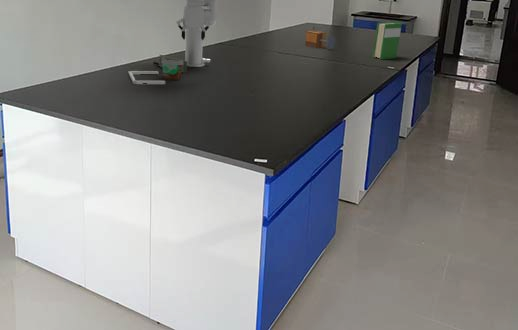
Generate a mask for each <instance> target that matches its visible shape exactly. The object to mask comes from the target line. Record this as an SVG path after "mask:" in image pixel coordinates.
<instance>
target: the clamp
mask: <svg viewBox="0 0 518 330" xmlns="http://www.w3.org/2000/svg"><path fill="white" fill-rule="evenodd" d="M312 28H313V29H312V30H306V31H305V32H306V33H305V42H304V46H305V47H308V48H314V49H320V48H325V46H326V45H325V44H326V43H327V48H328V49H329V50H331V49H333V48H334V46H335V43H336V39H335V37H334V36H330V37H329V38H328V40H327V39H326V36H327V35H326V34H327V33H326V32H324V31H320V30H315V26H312Z"/></svg>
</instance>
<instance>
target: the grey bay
mask: <svg viewBox="0 0 518 330" xmlns="http://www.w3.org/2000/svg"><path fill="white" fill-rule="evenodd" d="M140 74H158V75H159V71H157V70H143V71H142V70H128V76H129V78H130V79H131V81H132V84H133V85H144V84H143V83H147V84H146V85H166V80H136V79H135V76H134V75H140Z"/></svg>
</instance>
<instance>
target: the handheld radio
mask: <svg viewBox="0 0 518 330" xmlns="http://www.w3.org/2000/svg"><path fill="white" fill-rule="evenodd" d="M158 57H159V59H158V61H153V62H152V64H153V65H157V66H158V67H159V66H160V67H159V68H163V64H162V63H161V60H162V58H163V57H165V59H168V60H175V61H182V62H183V65H182V70H181V73H182V72H183V73H182V74H185V73H184V72H186V73H187V70H188V69H187V68H188V66H187V61H185V59H184V60H183V59H181V58H176V57H172V56H168V55H164V54H159V56H158Z"/></svg>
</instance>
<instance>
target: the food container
mask: <svg viewBox="0 0 518 330" xmlns="http://www.w3.org/2000/svg"><path fill="white" fill-rule="evenodd" d="M161 63H162V64H163V67H162V75H163V79H164V78H165V79H164V80H166V79H168V81H180V80H181V79H182V78H181V77H182V72H181V70H182V65H183V62H182V61H175V60H168V59H165V57H163V58H162V60H161Z"/></svg>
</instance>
